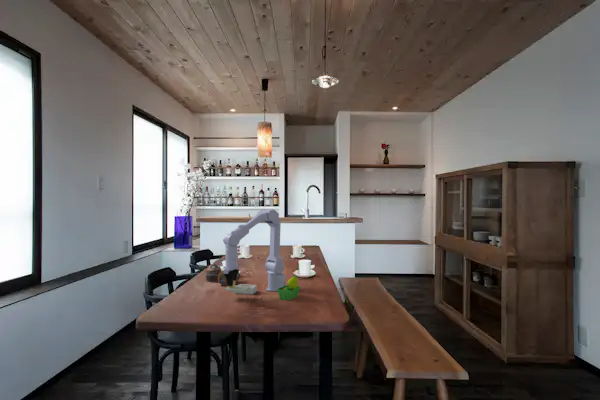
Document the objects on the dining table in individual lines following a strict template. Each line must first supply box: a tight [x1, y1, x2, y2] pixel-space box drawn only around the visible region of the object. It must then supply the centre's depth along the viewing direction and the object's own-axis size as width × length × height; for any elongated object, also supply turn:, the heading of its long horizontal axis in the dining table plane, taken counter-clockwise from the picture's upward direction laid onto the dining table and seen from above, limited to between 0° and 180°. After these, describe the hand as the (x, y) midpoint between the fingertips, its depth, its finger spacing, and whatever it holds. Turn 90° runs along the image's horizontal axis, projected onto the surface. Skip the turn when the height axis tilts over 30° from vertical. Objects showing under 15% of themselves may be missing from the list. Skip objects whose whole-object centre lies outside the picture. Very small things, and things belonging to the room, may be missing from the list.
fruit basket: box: [276, 275, 301, 301], centre depth 178 cm, size 11×9×11 cm
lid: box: [224, 280, 250, 293], centre depth 176 cm, size 10×7×5 cm
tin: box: [218, 268, 240, 286], centre depth 208 cm, size 15×3×8 cm, turn 143°
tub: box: [234, 283, 258, 296], centre depth 188 cm, size 10×7×4 cm
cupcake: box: [204, 263, 222, 283], centre depth 215 cm, size 10×10×10 cm
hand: (231, 285), depth 177 cm, fingers closed on lid, 3 cm apart
